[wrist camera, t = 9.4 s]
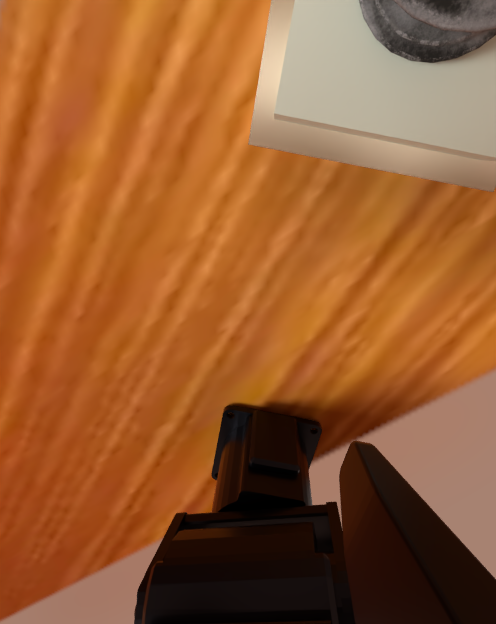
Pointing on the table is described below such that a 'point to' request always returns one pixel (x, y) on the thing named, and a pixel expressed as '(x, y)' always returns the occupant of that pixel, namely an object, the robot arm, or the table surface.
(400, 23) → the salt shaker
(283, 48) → the birch slab
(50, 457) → the table surface
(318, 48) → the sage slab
